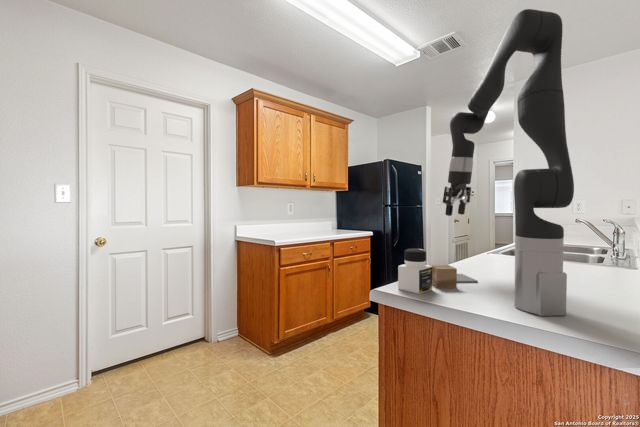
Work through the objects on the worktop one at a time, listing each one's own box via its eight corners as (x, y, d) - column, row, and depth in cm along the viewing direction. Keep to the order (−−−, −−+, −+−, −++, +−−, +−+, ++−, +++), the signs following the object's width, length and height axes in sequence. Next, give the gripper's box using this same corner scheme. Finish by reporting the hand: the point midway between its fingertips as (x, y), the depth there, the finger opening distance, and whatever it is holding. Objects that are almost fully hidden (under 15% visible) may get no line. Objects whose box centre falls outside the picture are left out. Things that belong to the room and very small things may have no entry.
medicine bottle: (419, 294, 83) (419, 251, 83) (397, 289, 88) (397, 248, 88) (432, 289, 88) (432, 249, 87) (410, 285, 93) (411, 246, 93)
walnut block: (456, 288, 89) (456, 268, 89) (436, 288, 89) (437, 268, 89) (447, 283, 95) (447, 264, 95) (428, 283, 95) (428, 264, 95)
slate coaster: (477, 282, 96) (477, 280, 96) (447, 282, 95) (447, 281, 95) (461, 275, 106) (461, 273, 106) (434, 275, 105) (434, 274, 105)
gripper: (460, 170, 100) (454, 217, 103) (480, 171, 108) (474, 215, 111) (439, 169, 106) (434, 214, 109) (460, 170, 114) (455, 212, 117)
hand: (454, 214), depth 110 cm, fingers open, 8 cm apart
